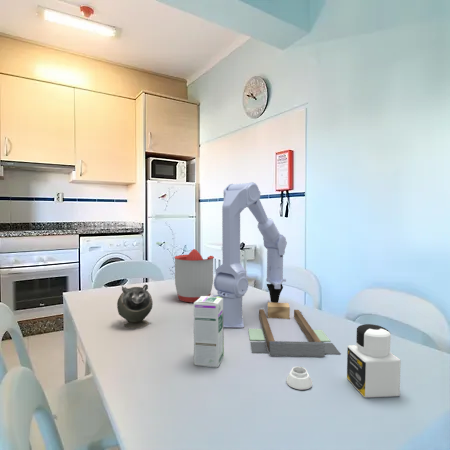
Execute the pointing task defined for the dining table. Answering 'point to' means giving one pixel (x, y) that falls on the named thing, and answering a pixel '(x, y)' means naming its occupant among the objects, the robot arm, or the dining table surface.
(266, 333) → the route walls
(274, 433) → the dining table surface
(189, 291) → the citrus juicer
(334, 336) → the dining table surface
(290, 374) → the lidless jar
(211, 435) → the dining table surface
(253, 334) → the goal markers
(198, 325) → the syrup box
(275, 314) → the oak block
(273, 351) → the trap bay
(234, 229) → the robot arm
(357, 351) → the medicine bottle
